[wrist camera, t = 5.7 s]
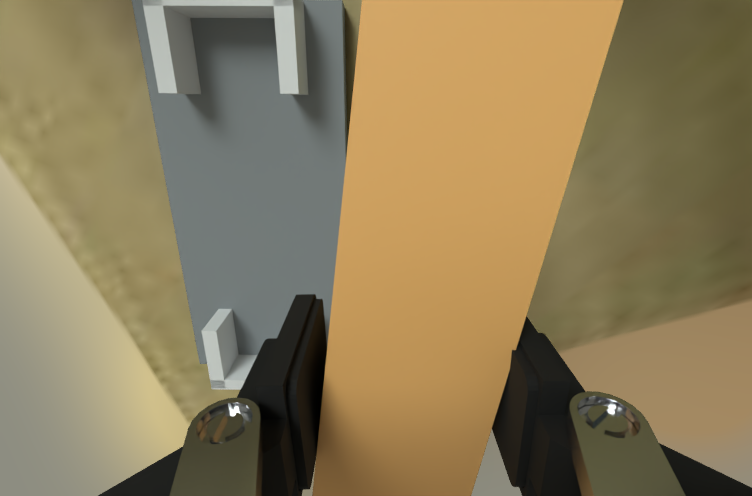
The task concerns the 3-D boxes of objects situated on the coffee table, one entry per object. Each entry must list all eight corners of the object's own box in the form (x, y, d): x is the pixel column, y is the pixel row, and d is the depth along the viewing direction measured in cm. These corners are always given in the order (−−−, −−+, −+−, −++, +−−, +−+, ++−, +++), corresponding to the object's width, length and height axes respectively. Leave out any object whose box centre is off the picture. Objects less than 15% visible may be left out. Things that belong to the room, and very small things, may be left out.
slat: (386, -136, 8) (391, -297, 5) (572, -107, 8) (697, -242, 5) (313, 546, 16) (295, 662, 13) (409, 556, 16) (416, 672, 13)
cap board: (146, 5, 23) (95, -16, 19) (344, 6, 23) (336, -15, 19) (207, 352, 32) (181, 389, 28) (351, 353, 32) (347, 391, 28)
